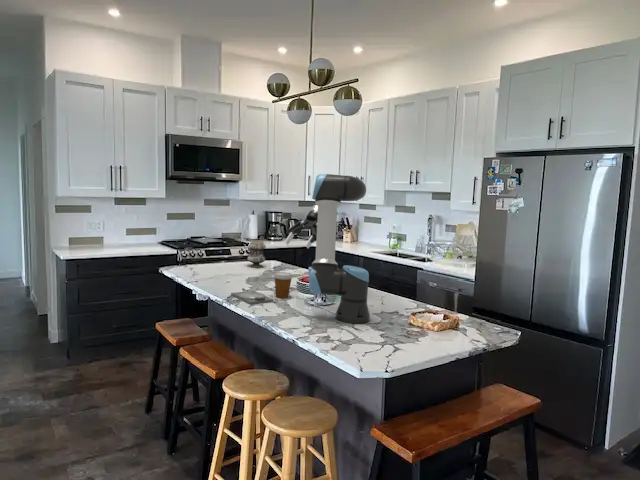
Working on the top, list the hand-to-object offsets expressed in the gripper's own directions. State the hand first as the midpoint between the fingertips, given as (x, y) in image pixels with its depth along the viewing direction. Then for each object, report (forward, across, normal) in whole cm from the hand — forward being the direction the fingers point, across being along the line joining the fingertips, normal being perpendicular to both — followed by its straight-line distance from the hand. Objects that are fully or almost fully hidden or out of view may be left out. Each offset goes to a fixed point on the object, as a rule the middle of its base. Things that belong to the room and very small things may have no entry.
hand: (296, 245), depth 252 cm
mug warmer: (+36, +7, -1) cm, 36 cm away
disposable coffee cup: (+26, 0, -12) cm, 28 cm away
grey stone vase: (-9, +66, -49) cm, 83 cm away
